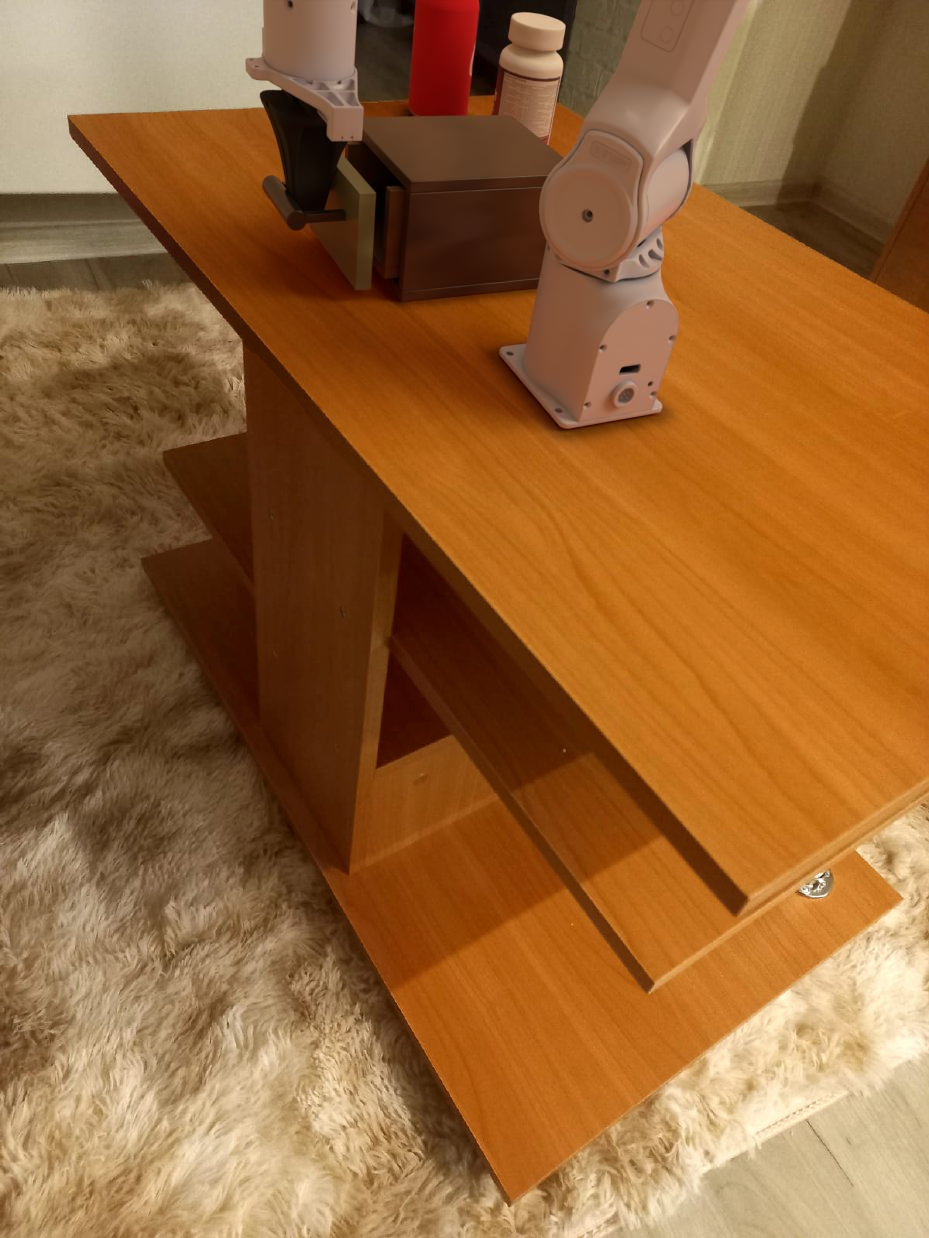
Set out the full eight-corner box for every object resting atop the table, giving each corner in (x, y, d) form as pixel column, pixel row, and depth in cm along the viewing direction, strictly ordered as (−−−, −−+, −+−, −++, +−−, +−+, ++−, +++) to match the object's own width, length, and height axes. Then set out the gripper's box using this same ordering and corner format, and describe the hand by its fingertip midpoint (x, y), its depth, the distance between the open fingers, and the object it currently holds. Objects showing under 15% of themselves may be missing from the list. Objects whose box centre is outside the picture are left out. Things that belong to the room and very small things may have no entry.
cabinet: (401, 302, 64) (411, 181, 58) (347, 232, 71) (351, 117, 65) (558, 286, 69) (583, 173, 63) (494, 222, 76) (511, 114, 70)
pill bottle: (498, 134, 91) (517, 6, 83) (554, 149, 90) (578, 21, 82) (478, 151, 87) (496, 18, 79) (536, 168, 86) (560, 35, 78)
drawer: (297, 296, 61) (296, 197, 56) (255, 230, 67) (251, 135, 62) (507, 276, 67) (523, 185, 63) (452, 218, 73) (462, 130, 69)
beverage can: (468, 114, 94) (484, -20, 85) (463, 133, 90) (479, -6, 81) (411, 104, 94) (422, -32, 85) (403, 123, 90) (413, -18, 81)
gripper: (213, -56, 55) (224, 168, 65) (282, 18, 47) (283, 261, 57) (320, -48, 58) (315, 165, 68) (403, 23, 50) (383, 254, 60)
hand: (307, 209), depth 63 cm, fingers closed, pressing on drawer
